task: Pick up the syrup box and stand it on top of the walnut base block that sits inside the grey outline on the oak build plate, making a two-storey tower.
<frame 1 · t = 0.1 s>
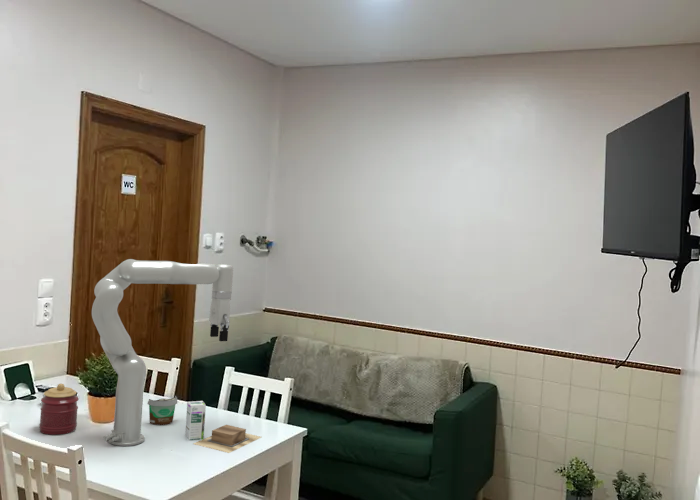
hand: (218, 338, 252), 37 cm above the table, tool pointing down, fingers open, 9 cm apart
ramekin: (56, 405, 273), on the table
syrup box: (193, 441, 242), on the table
build plate: (228, 443, 242), on the table
base block: (228, 440, 242), point 1 cm above the table, touching build plate
food container: (163, 424, 260), on the table
canister: (57, 430, 243), on the table
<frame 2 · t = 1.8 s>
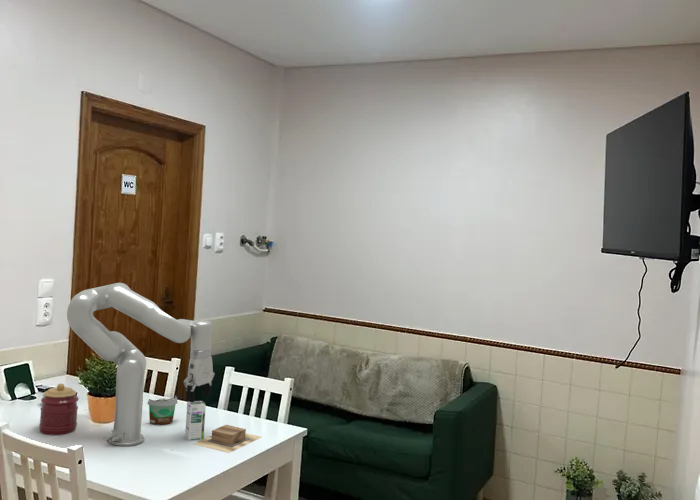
hand: (198, 398, 242), 16 cm above the table, tool pointing down, fingers open, 9 cm apart
nothing on the table moved.
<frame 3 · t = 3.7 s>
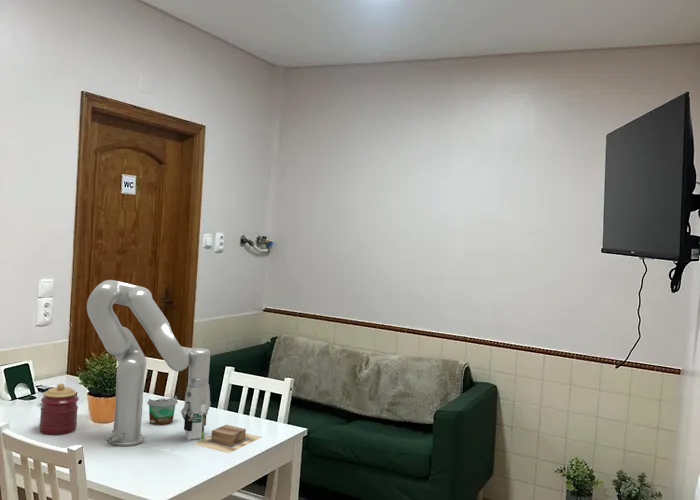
hand: (194, 427, 242), 5 cm above the table, tool pointing down, fingers closed on syrup box, 7 cm apart
syrup box: (193, 441, 242), on the table, touching gripper
everything else where it was.
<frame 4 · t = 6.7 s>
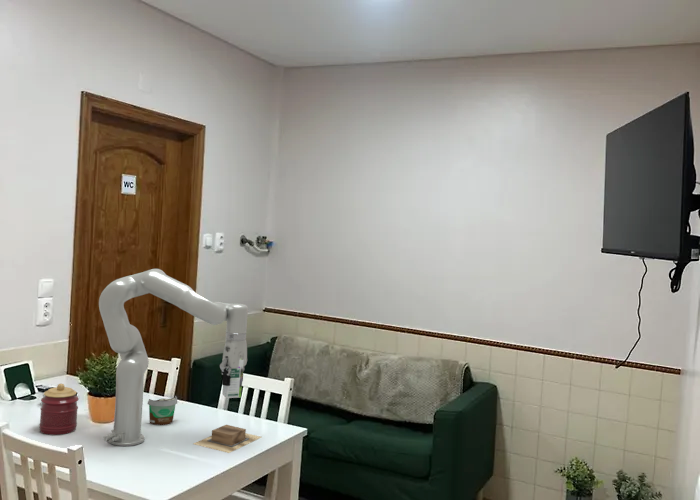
hand: (232, 383, 242), 23 cm above the table, tool pointing down, fingers closed on syrup box, 7 cm apart
syrup box: (231, 396, 242), point 18 cm above the table, touching gripper
everything else where it was.
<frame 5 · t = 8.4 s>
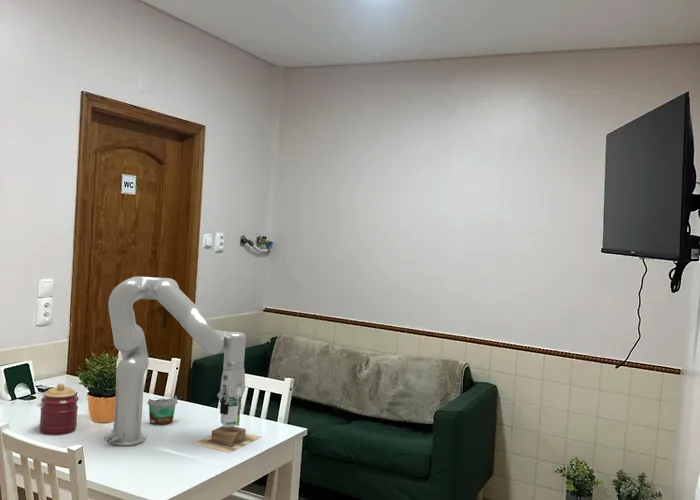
hand: (230, 411, 242), 12 cm above the table, tool pointing down, fingers closed on syrup box, 7 cm apart
syrup box: (229, 424, 242), point 7 cm above the table, touching gripper
everything else where it was.
when the fingers open (11 cm above the table, at t = 9.7 s): syrup box stays where it is, resting on base block.
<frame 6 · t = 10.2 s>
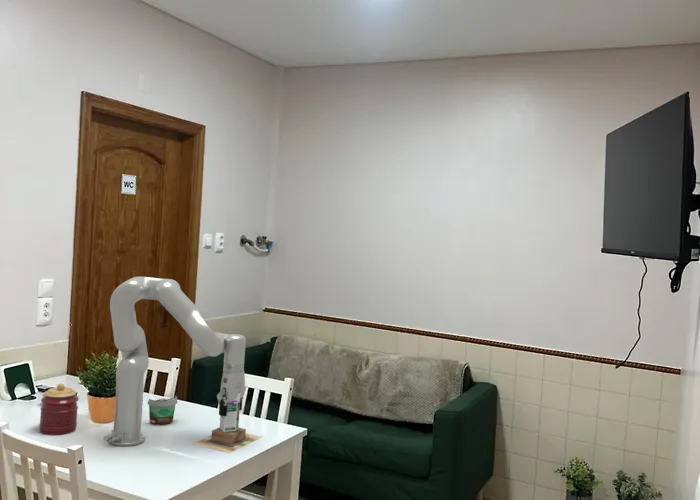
hand: (230, 412, 242), 12 cm above the table, tool pointing down, fingers open, 9 cm apart
syrup box: (228, 430, 242), point 5 cm above the table, touching base block
base block: (228, 440, 242), point 1 cm above the table, touching build plate, syrup box
everything else where it was.
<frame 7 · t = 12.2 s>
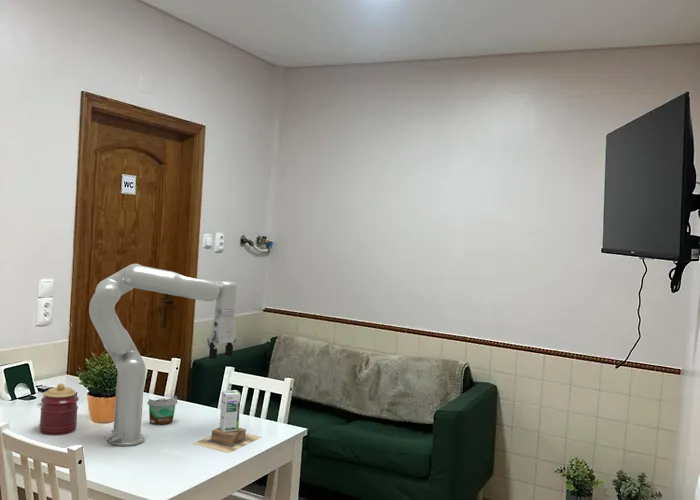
hand: (220, 357, 249), 31 cm above the table, tool pointing down, fingers open, 9 cm apart
nothing on the table moved.
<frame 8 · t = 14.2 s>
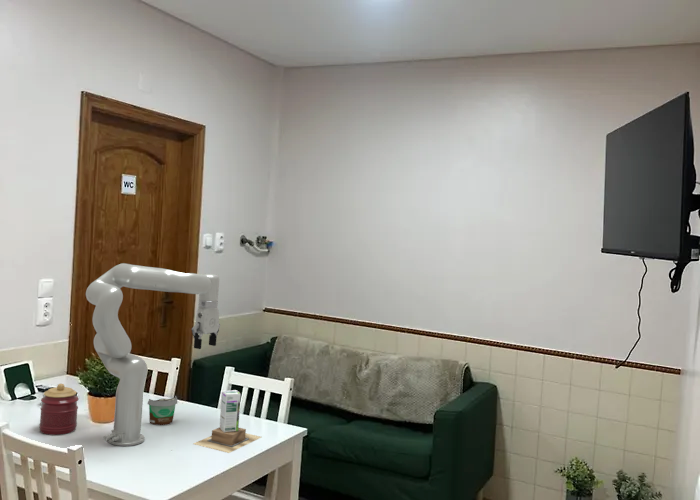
hand: (204, 346, 259), 32 cm above the table, tool pointing down, fingers open, 9 cm apart
nothing on the table moved.
at the end: syrup box inside the target area on the base block (0.2 cm from its centre), point 3.8 cm above the base block's base; syrup box tilted 0°; the gripper is holding nothing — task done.
